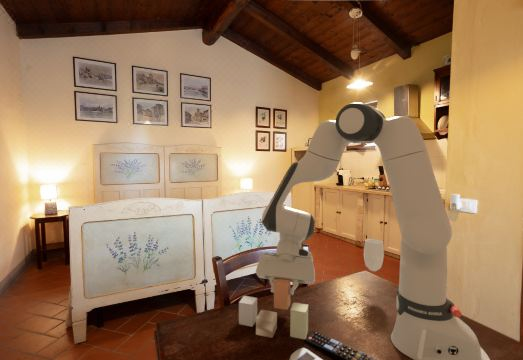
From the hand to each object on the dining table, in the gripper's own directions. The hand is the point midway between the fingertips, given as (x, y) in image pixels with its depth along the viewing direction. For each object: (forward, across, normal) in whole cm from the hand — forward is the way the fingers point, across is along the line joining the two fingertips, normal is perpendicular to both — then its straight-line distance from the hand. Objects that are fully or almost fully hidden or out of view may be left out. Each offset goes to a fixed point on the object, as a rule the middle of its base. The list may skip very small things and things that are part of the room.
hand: (281, 293), depth 89 cm
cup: (-12, +29, +24) cm, 40 cm away
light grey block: (+10, -10, +1) cm, 14 cm away
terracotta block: (+3, 0, +4) cm, 4 cm away
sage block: (+11, +7, 0) cm, 13 cm away
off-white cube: (+12, -2, -1) cm, 12 cm away
